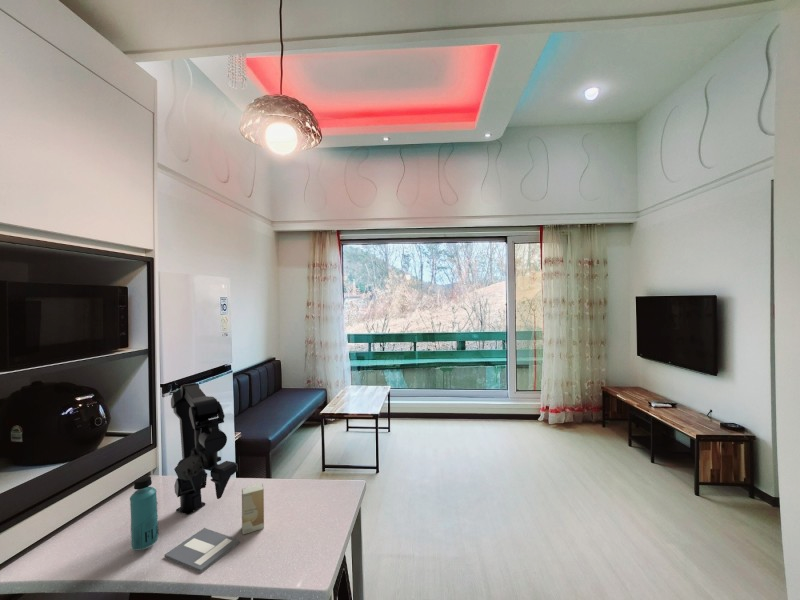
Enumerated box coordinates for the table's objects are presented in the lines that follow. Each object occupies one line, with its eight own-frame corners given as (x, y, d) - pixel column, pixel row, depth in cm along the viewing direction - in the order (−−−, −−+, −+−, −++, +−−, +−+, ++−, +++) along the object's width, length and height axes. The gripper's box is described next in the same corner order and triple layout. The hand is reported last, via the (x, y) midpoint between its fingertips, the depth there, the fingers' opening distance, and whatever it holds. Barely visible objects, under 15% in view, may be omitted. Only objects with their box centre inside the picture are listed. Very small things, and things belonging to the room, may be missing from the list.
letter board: (164, 557, 95) (164, 554, 95) (204, 530, 106) (204, 527, 106) (201, 572, 89) (201, 569, 89) (239, 542, 100) (239, 539, 100)
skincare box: (242, 535, 103) (241, 494, 103) (241, 527, 107) (240, 487, 107) (265, 528, 106) (264, 488, 106) (263, 520, 110) (262, 482, 110)
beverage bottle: (144, 557, 96) (141, 485, 96) (124, 554, 97) (122, 483, 97) (164, 541, 102) (162, 473, 102) (146, 538, 103) (143, 472, 103)
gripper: (157, 449, 98) (159, 504, 98) (202, 458, 91) (204, 518, 91) (194, 435, 108) (196, 485, 108) (237, 442, 101) (239, 495, 101)
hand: (208, 495), depth 102 cm, fingers open, 9 cm apart
